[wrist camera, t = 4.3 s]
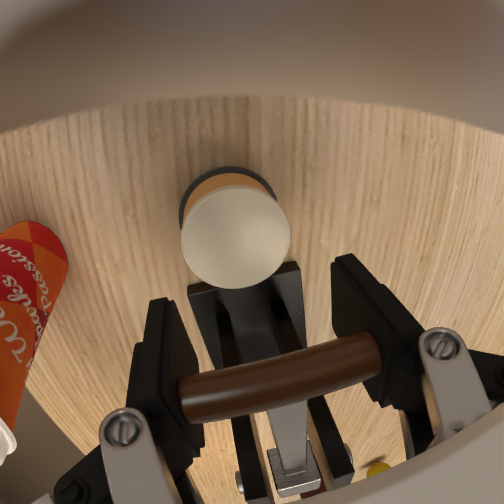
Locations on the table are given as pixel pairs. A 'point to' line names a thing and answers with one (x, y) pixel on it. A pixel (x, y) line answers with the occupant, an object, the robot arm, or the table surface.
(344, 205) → the table surface
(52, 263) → the coffee cup
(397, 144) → the table surface
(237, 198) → the cake
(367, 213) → the table surface
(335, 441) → the lever base stand
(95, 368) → the table surface
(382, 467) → the lemon
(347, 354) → the lever
